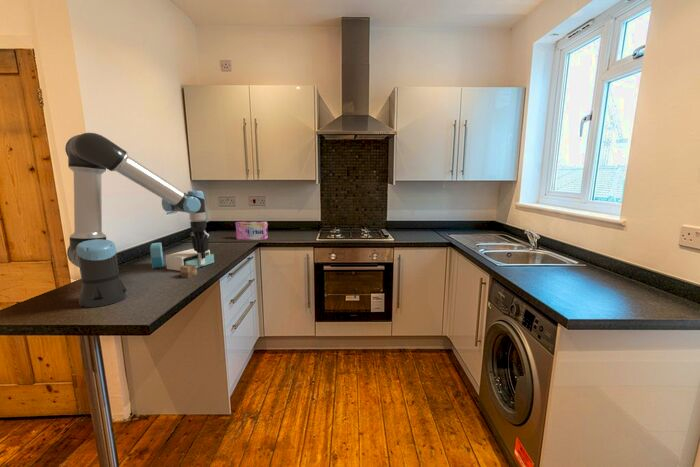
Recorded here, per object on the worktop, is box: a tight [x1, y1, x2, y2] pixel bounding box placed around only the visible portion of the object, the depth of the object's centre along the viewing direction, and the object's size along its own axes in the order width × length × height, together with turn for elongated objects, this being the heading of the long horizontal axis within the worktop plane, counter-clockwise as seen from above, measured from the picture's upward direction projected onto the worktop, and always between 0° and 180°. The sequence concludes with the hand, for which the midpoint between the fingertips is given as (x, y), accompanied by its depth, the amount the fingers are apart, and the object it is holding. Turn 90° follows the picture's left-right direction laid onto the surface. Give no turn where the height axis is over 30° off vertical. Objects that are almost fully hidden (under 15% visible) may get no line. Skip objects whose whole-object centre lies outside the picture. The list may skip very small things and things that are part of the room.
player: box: [164, 248, 211, 272], centre depth 170 cm, size 12×18×7 cm, turn 157°
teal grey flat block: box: [183, 253, 215, 269], centre depth 169 cm, size 13×18×5 cm
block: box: [179, 264, 198, 279], centre depth 152 cm, size 5×5×5 cm
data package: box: [149, 242, 164, 269], centre depth 169 cm, size 12×4×12 cm
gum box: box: [235, 220, 269, 241], centre depth 243 cm, size 24×8×14 cm, turn 88°
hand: (202, 264), depth 166 cm, fingers closed
